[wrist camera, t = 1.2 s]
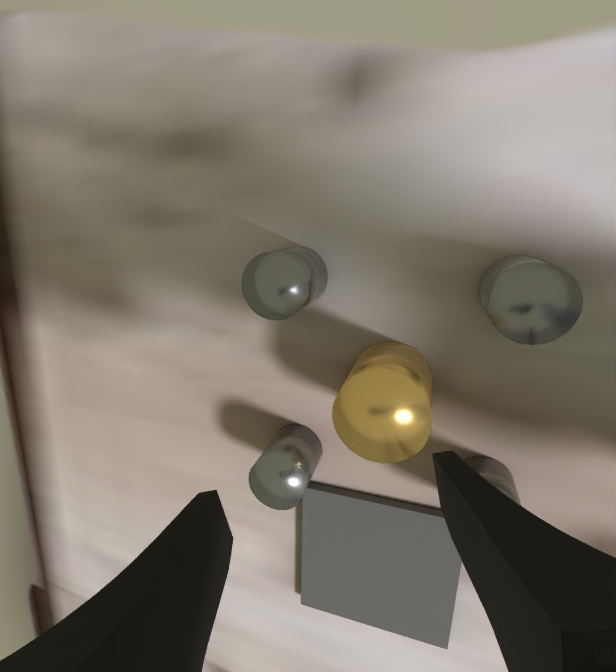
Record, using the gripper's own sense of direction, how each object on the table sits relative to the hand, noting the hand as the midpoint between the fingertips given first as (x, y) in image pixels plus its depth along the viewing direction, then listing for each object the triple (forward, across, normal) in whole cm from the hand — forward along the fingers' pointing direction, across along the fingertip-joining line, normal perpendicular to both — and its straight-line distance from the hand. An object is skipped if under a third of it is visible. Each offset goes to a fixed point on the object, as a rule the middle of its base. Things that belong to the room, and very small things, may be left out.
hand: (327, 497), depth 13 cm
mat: (+10, 0, +14) cm, 17 cm away
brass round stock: (+10, -4, +1) cm, 11 cm away
